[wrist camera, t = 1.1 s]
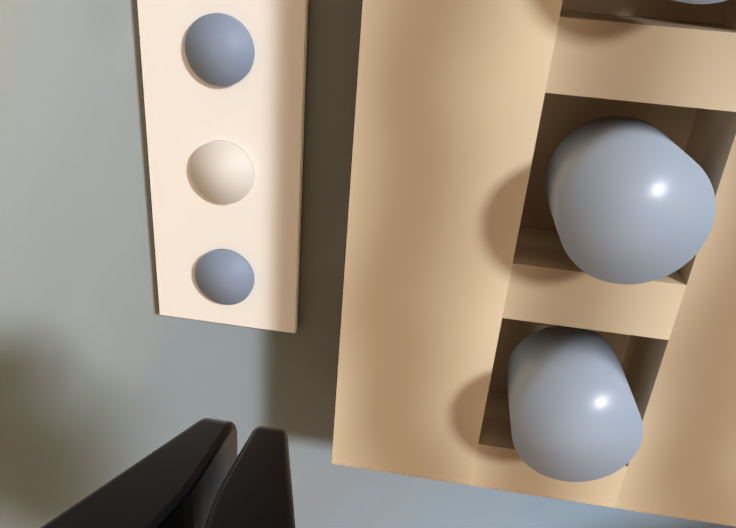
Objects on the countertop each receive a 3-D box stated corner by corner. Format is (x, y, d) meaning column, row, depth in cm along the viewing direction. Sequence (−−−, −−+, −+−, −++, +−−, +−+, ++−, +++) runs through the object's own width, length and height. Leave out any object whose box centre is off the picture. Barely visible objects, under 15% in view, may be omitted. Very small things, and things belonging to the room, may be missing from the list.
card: (308, -14, 16) (304, -14, 16) (297, 328, 21) (293, 336, 20) (140, -30, 17) (131, -29, 16) (163, 309, 21) (157, 317, 21)
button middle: (695, 123, 15) (736, 153, 12) (658, 245, 16) (690, 293, 14) (558, 109, 15) (574, 135, 13) (533, 230, 16) (544, 274, 14)
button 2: (633, 333, 17) (658, 390, 15) (605, 425, 18) (625, 490, 16) (516, 318, 17) (523, 371, 15) (497, 409, 18) (502, 471, 16)
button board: (1014, -258, 13) (1161, -316, 10) (724, 455, 20) (764, 531, 18) (401, -289, 14) (386, -350, 11) (348, 400, 22) (331, 463, 19)
